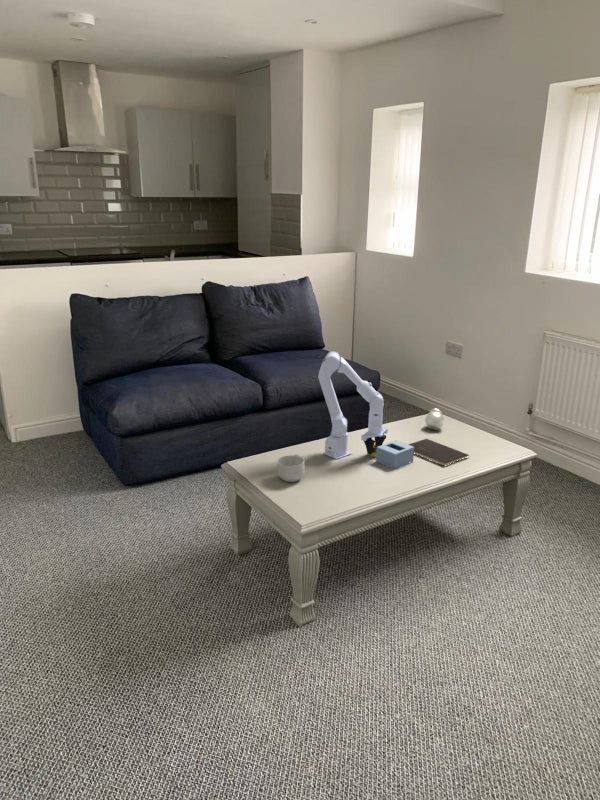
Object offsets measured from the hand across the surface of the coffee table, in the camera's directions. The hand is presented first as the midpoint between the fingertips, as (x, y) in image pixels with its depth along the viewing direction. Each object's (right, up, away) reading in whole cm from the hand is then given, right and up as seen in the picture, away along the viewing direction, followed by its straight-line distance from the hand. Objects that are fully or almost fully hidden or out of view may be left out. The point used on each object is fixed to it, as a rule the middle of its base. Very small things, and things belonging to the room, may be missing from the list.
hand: (373, 452), depth 272 cm
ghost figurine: (+33, +8, +33) cm, 47 cm away
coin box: (+8, -3, -5) cm, 10 cm away
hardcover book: (+27, -2, +4) cm, 27 cm away
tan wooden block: (0, -1, +1) cm, 2 cm away
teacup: (-34, -8, -22) cm, 41 cm away
